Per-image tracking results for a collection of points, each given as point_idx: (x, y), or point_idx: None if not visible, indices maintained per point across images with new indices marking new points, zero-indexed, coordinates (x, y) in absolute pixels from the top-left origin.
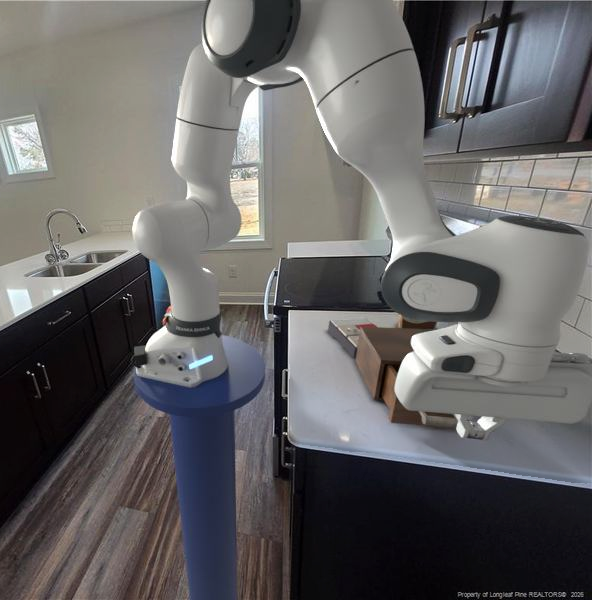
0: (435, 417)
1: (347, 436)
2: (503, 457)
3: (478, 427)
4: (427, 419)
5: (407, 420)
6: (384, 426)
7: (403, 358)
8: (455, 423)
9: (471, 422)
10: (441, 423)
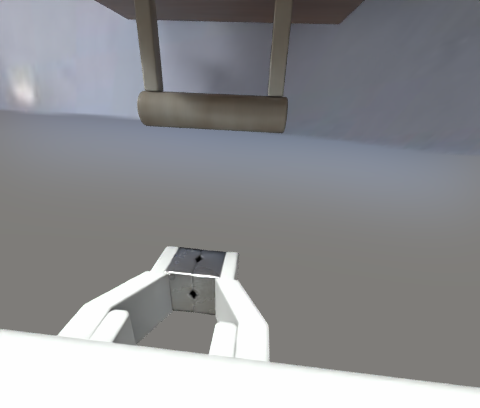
0: (174, 112)
1: (29, 85)
2: (377, 118)
3: (204, 301)
4: (146, 122)
5: (167, 15)
6: (121, 24)
7: None
8: (238, 130)
9: (192, 280)
10: (196, 127)
